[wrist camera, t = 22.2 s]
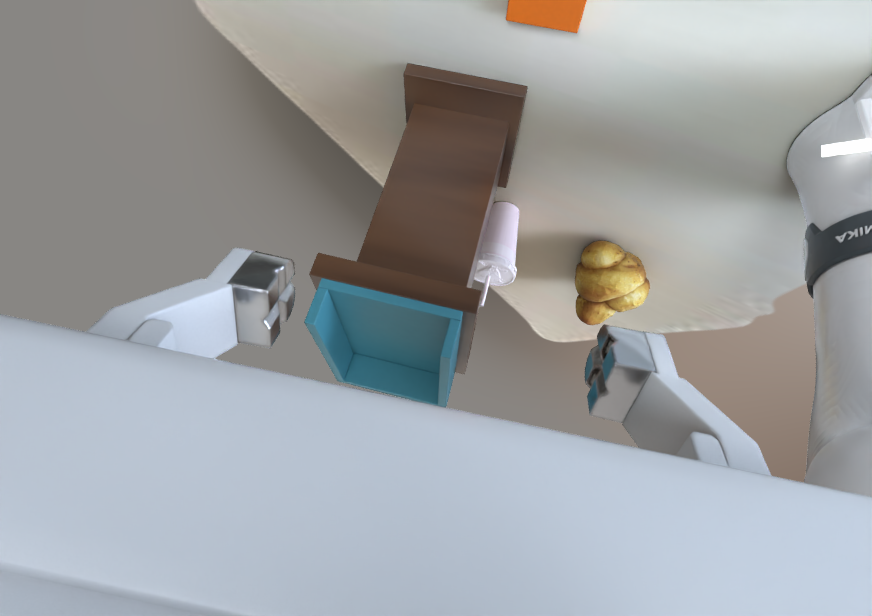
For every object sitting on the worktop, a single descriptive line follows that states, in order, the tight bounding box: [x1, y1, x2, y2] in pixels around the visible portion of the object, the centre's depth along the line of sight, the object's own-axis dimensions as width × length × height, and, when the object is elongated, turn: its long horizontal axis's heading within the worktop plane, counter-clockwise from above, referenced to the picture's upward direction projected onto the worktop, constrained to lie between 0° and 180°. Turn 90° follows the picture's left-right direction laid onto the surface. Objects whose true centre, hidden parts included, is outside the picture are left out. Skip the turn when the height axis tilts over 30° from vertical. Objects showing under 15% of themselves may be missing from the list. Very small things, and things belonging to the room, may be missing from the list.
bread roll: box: [575, 241, 650, 325], centre depth 72 cm, size 13×10×8 cm
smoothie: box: [474, 202, 519, 307], centre depth 67 cm, size 6×6×14 cm
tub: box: [304, 278, 463, 407], centre depth 45 cm, size 15×11×4 cm
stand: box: [309, 63, 527, 374], centre depth 52 cm, size 16×13×26 cm
